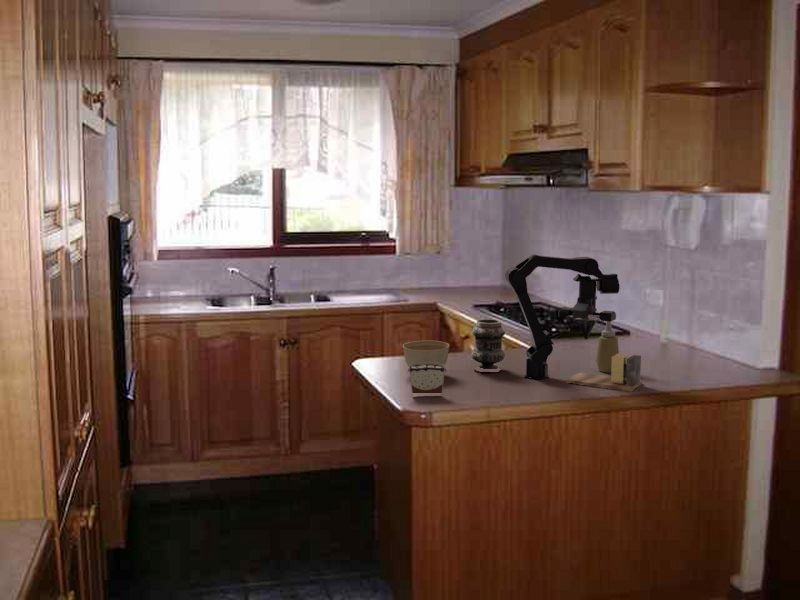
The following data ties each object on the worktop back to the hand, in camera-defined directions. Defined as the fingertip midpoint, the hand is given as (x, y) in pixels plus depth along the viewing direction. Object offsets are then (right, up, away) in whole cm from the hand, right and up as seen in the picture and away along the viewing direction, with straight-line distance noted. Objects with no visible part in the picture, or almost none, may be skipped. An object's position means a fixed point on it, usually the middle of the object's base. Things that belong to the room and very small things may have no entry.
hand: (586, 339), depth 297 cm
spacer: (+9, -13, -12) cm, 20 cm away
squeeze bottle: (+9, -12, +9) cm, 18 cm away
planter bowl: (-55, -13, +5) cm, 57 cm away
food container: (-56, -17, -21) cm, 62 cm away
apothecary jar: (-33, -12, +12) cm, 37 cm away
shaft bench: (+4, -14, -9) cm, 17 cm away
